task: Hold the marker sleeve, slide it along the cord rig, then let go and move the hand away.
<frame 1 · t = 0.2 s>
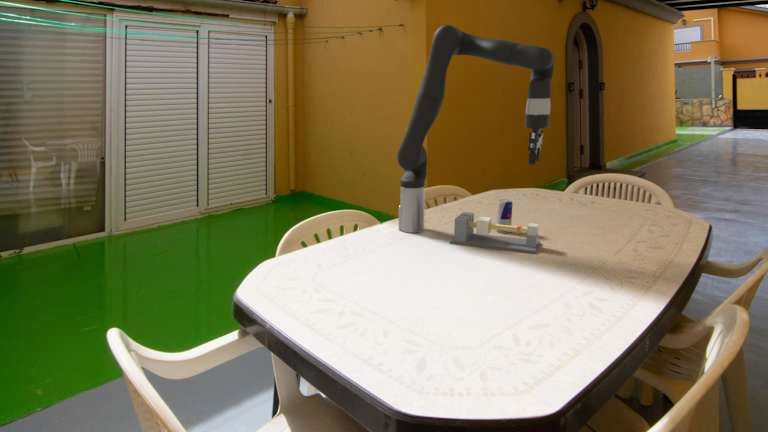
hand: (533, 162, 153), 28 cm above the table, fingers open, 8 cm apart
energy drink: (503, 231, 174), on the table
grey base plate: (494, 243, 160), on the table
marker sleeve: (483, 225, 160), point 6 cm above the table, slide at 0.0 cm
cord rig: (496, 229, 159), on the grey base plate, point 5 cm above the table
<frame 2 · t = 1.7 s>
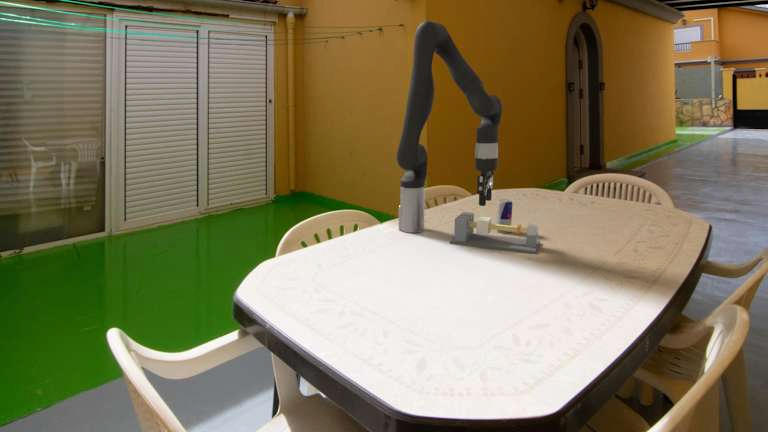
hand: (485, 203, 158), 14 cm above the table, fingers open, 8 cm apart
nothing on the table moved.
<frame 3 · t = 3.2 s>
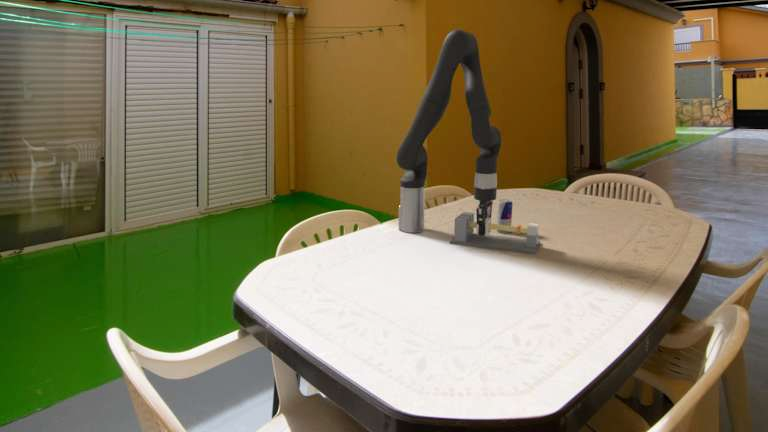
hand: (483, 232, 161), 3 cm above the table, fingers closed on marker sleeve, 5 cm apart
marker sleeve: (483, 225, 160), point 6 cm above the table, slide at 0.0 cm, touching gripper
everything else where it was.
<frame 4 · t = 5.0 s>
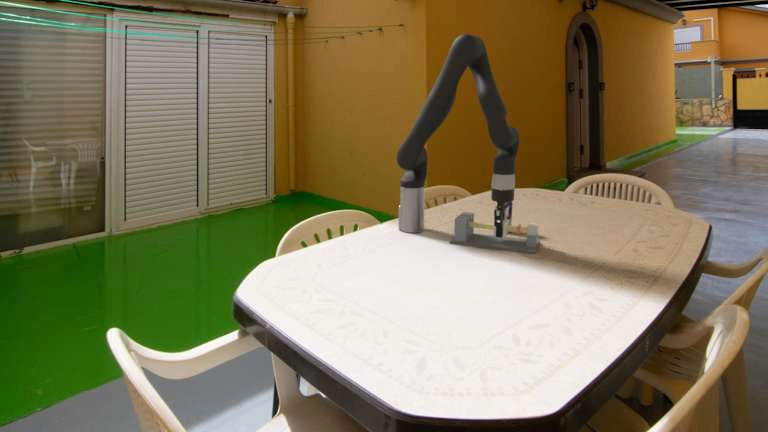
hand: (500, 234, 158), 3 cm above the table, fingers closed on marker sleeve, 5 cm apart
marker sleeve: (501, 227, 158), point 6 cm above the table, slide at 6.0 cm, touching gripper
everything else where it was.
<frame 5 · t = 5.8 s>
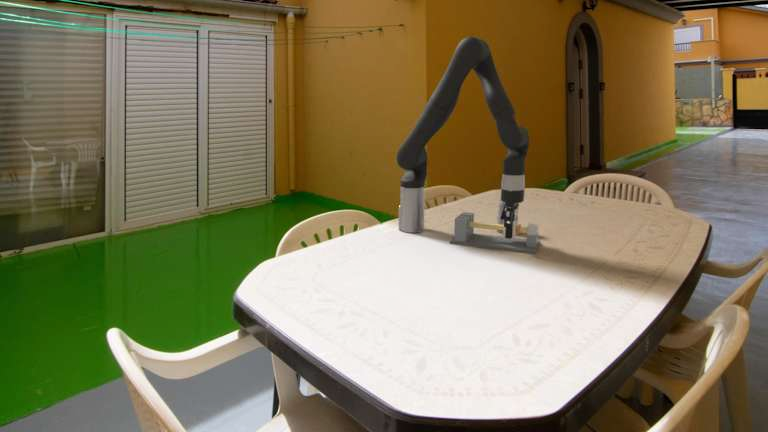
hand: (510, 235, 157), 3 cm above the table, fingers closed on marker sleeve, 5 cm apart
marker sleeve: (510, 228, 157), point 6 cm above the table, slide at 9.2 cm, touching gripper
everything else where it was.
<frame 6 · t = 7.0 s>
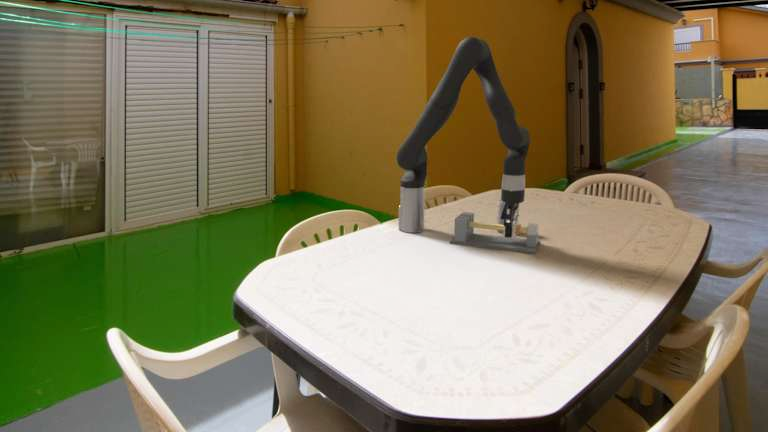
hand: (510, 233, 157), 4 cm above the table, fingers open, 8 cm apart
marker sleeve: (510, 228, 156), point 6 cm above the table, slide at 9.3 cm
everything else where it was.
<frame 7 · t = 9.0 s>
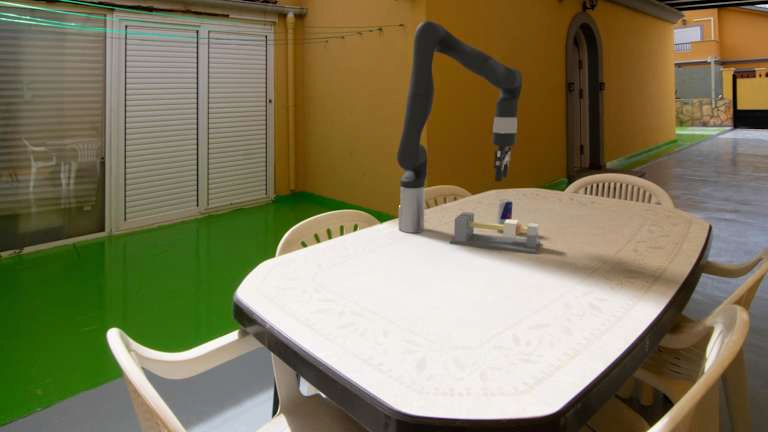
hand: (501, 179, 156), 23 cm above the table, fingers open, 8 cm apart
nothing on the table moved.
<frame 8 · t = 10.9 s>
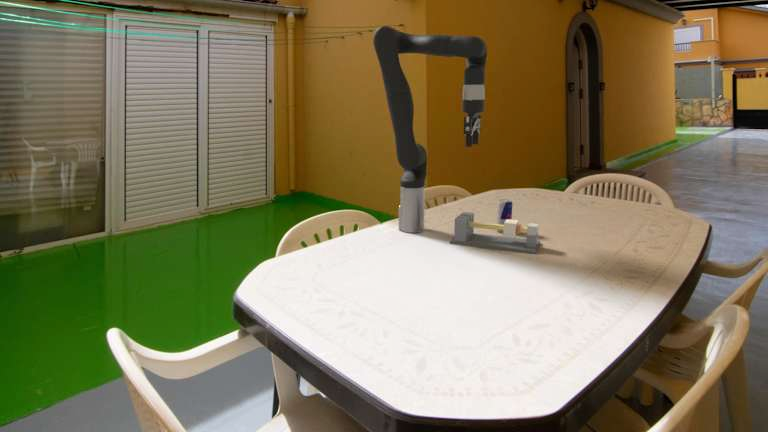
hand: (472, 145, 163), 33 cm above the table, fingers open, 8 cm apart
nothing on the table moved.
at the end: marker sleeve slide at 9.3 cm; the gripper is holding nothing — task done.
